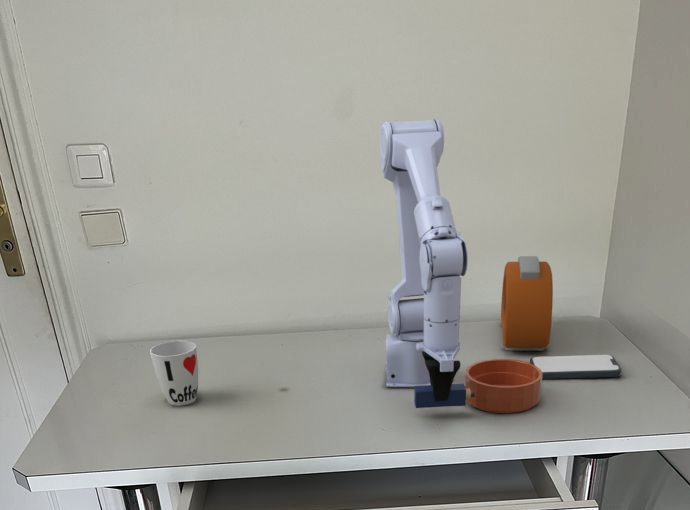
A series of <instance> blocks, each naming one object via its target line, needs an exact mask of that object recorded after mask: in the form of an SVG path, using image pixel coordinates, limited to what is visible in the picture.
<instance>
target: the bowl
mask: <svg viewBox="0 0 690 510" xmlns="http://www.w3.org/2000/svg"><path fill="white" fill-rule="evenodd" d="M542 377H543V374H542V371H541V370H540V369H539V368H538V367H537V366H535V365H532V364H530V362H527V361H523V360H518V359H510V358H493V359H484V360H480V361H476V362H474V363H472V364H470V365H469V366H467V368H466V369H465V373H464V386H465V388H466V389H468V388H470V390H471V392H474V394H475V395H474V397H471V400H467V401H466V402H467V403H468V404H470V405H471V406H472V407H474V408H476V409H478V410H481V411H484V412H488V413H495V414H515V413H521V412H524V411H525V412H526V411H528V410H530V409H532V408H533V407H534V406H536V405H538V404H539V402H540V400H541V397H542V396H541V395H542V386H543V379H542Z"/></svg>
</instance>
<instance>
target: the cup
mask: <svg viewBox="0 0 690 510" xmlns="http://www.w3.org/2000/svg"><path fill="white" fill-rule="evenodd" d="M149 354H150V357H151V361H152V366H153V369H154V372H155V376H156V378H157V381H158V384H159V386H160V388H161V392H162V393H163V395H164V397H165V398H166V401H167V402H168V404H169V405H172V406H177V407H179V406H181V407H182V406H186V405H191V404H192V403H194V402H196V400H197V395H198V389H199V360H198V352H197V344H196V343H195V342H192V341H188V340H171V341H165V342H161V343H158V344H156V345H154V346H152V347H151V348H150V350H149Z"/></svg>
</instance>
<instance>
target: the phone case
mask: <svg viewBox="0 0 690 510" xmlns="http://www.w3.org/2000/svg"><path fill="white" fill-rule="evenodd" d="M529 363H530V364H532V365H535V366H537V367H538V368H539V369H540V370H541V371H542V374H543V377H542V380H552V379H556V380H557V379H585V378H587V379H589V378H590V379H591V378H616V377H620V376H621V374H622V368H621V366H620V365H619V363H618V362H617V360H616V358H615V356H613V355H612V354H586V355H585V354H583V355H582V354H581V355H554V356H553V355H550V356H549V355H548V356H532V357H531V358H529Z"/></svg>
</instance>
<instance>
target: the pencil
mask: <svg viewBox="0 0 690 510" xmlns="http://www.w3.org/2000/svg"><path fill="white" fill-rule="evenodd" d="M413 392H414V393H413V394H414V396H413V397H414V399H413V403H414V406H415V409H425V408H427V409H428V408H429V409H431V408H449V407H465V406H466V404H467V403H466V402H468V401H467V400H471V397H474V395H475V394H474V392H471V390H470V388H468V389H466V388H465V383H452V386H451V390H450V394H449V397H448V400H447V401H435V398H434V394H433V388H432V385H424V386H414V387H413Z"/></svg>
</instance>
